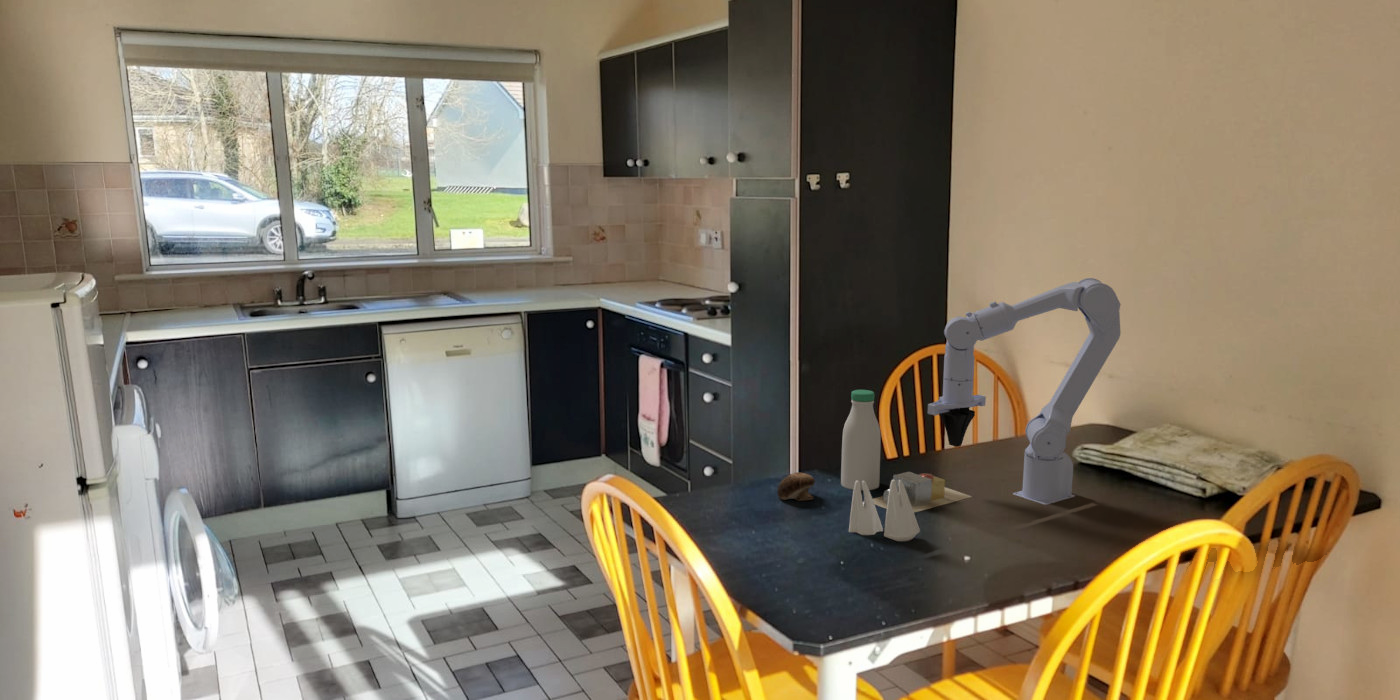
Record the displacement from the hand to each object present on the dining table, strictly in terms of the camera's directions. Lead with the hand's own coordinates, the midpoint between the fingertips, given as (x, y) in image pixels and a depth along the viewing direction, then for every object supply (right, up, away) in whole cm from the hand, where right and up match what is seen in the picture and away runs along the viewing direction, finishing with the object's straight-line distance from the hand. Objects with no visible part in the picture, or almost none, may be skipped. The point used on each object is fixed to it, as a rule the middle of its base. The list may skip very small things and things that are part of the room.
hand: (955, 445), depth 195 cm
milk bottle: (-18, -9, +5) cm, 21 cm away
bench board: (-8, -11, -3) cm, 14 cm away
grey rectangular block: (-11, -10, -6) cm, 17 cm away
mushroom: (-32, -11, -3) cm, 34 cm away
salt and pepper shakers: (-18, -14, -22) cm, 32 cm away
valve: (-7, -10, -3) cm, 13 cm away
